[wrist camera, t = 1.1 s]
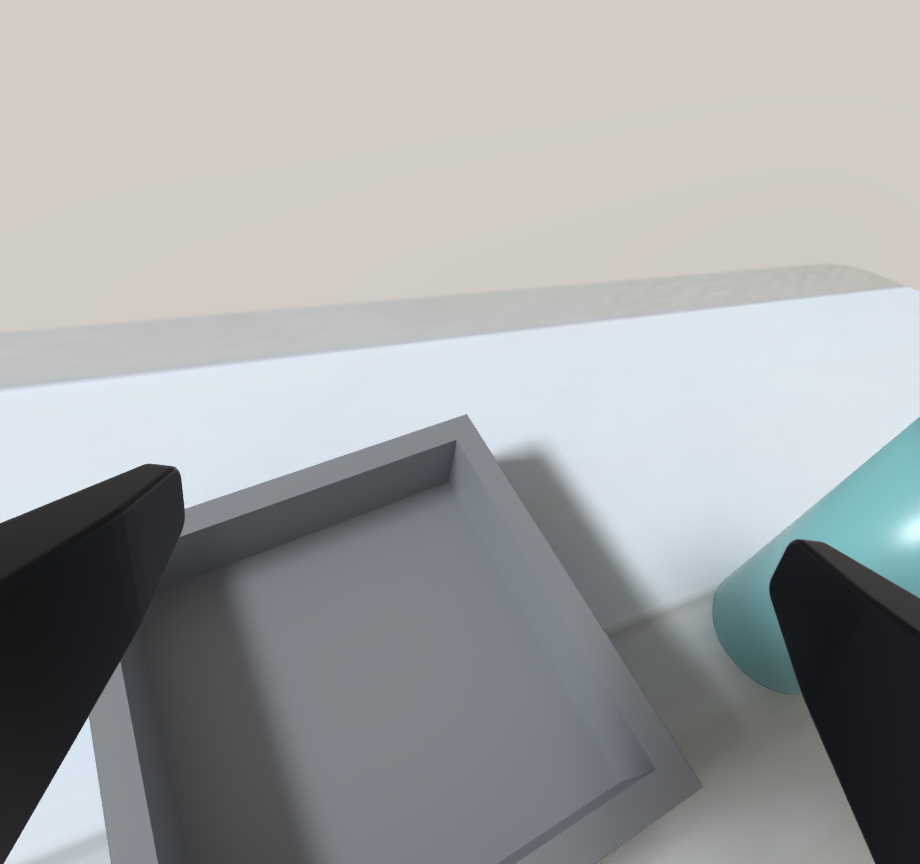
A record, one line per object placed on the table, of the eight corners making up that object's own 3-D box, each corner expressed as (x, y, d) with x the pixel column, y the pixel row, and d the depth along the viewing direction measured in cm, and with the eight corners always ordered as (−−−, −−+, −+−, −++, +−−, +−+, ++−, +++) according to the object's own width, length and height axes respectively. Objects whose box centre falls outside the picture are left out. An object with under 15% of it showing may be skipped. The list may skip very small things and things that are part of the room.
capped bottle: (861, 658, 24) (1218, 502, 14) (775, 718, 23) (1113, 588, 12) (772, 552, 27) (1018, 354, 17) (687, 599, 25) (906, 408, 15)
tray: (652, 800, 20) (703, 787, 17) (203, 1110, 15) (158, 1173, 12) (456, 466, 28) (466, 414, 25) (107, 595, 22) (63, 550, 19)
